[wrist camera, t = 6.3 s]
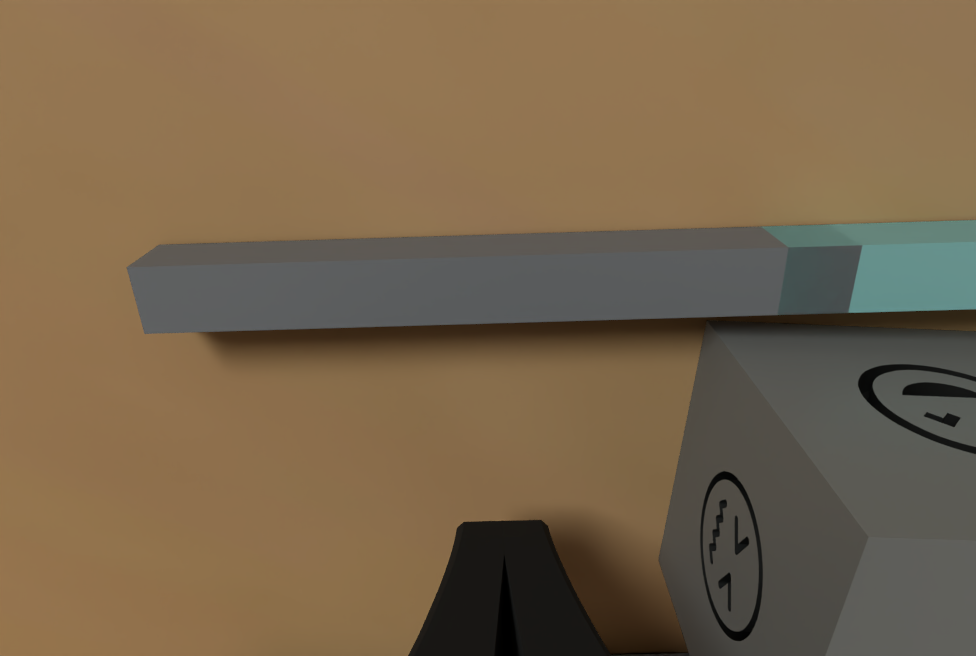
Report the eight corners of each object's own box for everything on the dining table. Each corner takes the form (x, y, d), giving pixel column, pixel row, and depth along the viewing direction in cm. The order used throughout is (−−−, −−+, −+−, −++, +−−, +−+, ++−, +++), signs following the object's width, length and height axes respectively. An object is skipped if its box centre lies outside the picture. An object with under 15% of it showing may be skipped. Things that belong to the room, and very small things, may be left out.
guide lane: (1027, 677, 14) (1084, 747, 13) (268, 697, 14) (246, 769, 13) (1233, 212, 10) (1352, 242, 9) (158, 245, 10) (108, 280, 9)
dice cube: (914, 565, 13) (1146, 859, 8) (657, 557, 13) (754, 851, 8) (1010, 331, 11) (1387, 553, 6) (705, 318, 11) (868, 537, 6)
